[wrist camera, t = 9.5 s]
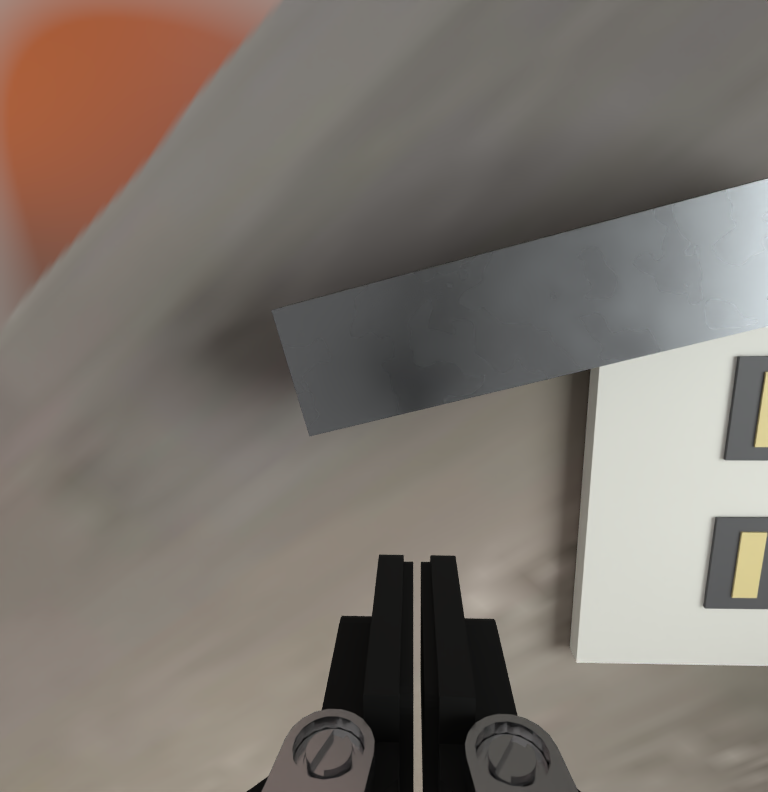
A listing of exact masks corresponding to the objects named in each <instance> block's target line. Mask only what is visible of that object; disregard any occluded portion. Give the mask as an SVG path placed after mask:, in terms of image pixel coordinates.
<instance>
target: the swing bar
mask: <svg viewBox="0 0 768 792" xmlns="http://www.w3.org/2000/svg"><path fill="white" fill-rule="evenodd" d="M271 311H272V314H273V317H274V321H275V324H276V327H277V330H278V334H279V337H280V340H281V344H282V347H283V350H284V354H285V357H286V360H287V364H288V367H289V370H290V373H291V377H292V380H293V383H294V387H295V390H296V393H297V397H298V400H299V403H300V407H301V410H302V413H303V416H304V420H305V423H306V426H307V430H308V433H309V436H313V435H317V434H321V433H325V432H330V431H334V430H338V429H342V428H346V427H350V426H355V425H359V424H363V423H367V422H371V421H375V420H380V419H384V418H388V417H392V416H396V415H400V414H405V413H409V412H413V411H417V410H421V409H425V408H430V407H434V406H438V405H442V404H446V403H450V402H455V401H459V400H463V399H467V398H471V397H475V396H480V395H484V394H488V393H492V392H496V391H500V390H505V389H509V388H513V387H517V386H521V385H526V384H530V383H534V382H538V381H542V380H546V379H551V378H555V377H559V376H563V375H567V374H571V373H576V372H580V371H584V370H588V369H592V368H596V367H601V366H605V365H609V364H613V363H617V362H621V361H626V360H630V359H634V358H638V357H642V356H646V355H651V354H655V353H659V352H663V351H667V350H671V349H676V348H680V347H684V346H688V345H692V344H697V343H701V342H705V341H709V340H713V339H717V338H722V337H726V336H730V335H734V334H738V333H742V332H747V331H751V330H755V329H759V328H763V327H767V326H768V178H765V179H761V180H757V181H754V182H750V183H746V184H742V185H739V186H735V187H731V188H727V189H724V190H720V191H716V192H712V193H708V194H705V195H701V196H697V197H693V198H690V199H686V200H682V201H678V202H675V203H671V204H667V205H663V206H659V207H656V208H652V209H648V210H644V211H641V212H637V213H633V214H629V215H626V216H622V217H618V218H614V219H611V220H607V221H603V222H599V223H595V224H592V225H588V226H584V227H580V228H577V229H573V230H569V231H565V232H562V233H558V234H554V235H550V236H547V237H543V238H539V239H535V240H531V241H528V242H524V243H520V244H516V245H513V246H509V247H505V248H501V249H498V250H494V251H490V252H486V253H482V254H479V255H475V256H471V257H467V258H464V259H460V260H456V261H452V262H449V263H445V264H441V265H437V266H434V267H430V268H426V269H422V270H418V271H415V272H411V273H407V274H403V275H400V276H396V277H392V278H388V279H385V280H381V281H377V282H373V283H369V284H366V285H362V286H358V287H354V288H351V289H347V290H343V291H339V292H336V293H332V294H328V295H324V296H321V297H317V298H313V299H309V300H305V301H302V302H298V303H294V304H291V305H287V306H284V307H281V308H278V309H274V310H271Z"/></svg>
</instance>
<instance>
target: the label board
mask: <svg viewBox="0 0 768 792" xmlns="http://www.w3.org/2000/svg"><path fill="white" fill-rule="evenodd" d="M570 649H571V651H572V654H573V656H574V658H575V661H576V663H629V664H687V665H745V666H768V326H767V327H763V328H759V329H755V330H751V331H747V332H742V333H738V334H734V335H730V336H726V337H722V338H717V339H713V340H709V341H705V342H701V343H697V344H692V345H688V346H684V347H680V348H676V349H671V350H667V351H663V352H659V353H655V354H651V355H646V356H642V357H638V358H634V359H630V360H626V361H621V362H617V363H613V364H609V365H605V366H601V367H596V368H592V369H591V370H590V383H589V397H588V410H587V423H586V437H585V450H584V464H583V477H582V490H581V504H580V517H579V530H578V544H577V557H576V570H575V584H574V597H573V610H572V624H571V637H570Z"/></svg>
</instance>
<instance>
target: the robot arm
mask: <svg viewBox="0 0 768 792" xmlns="http://www.w3.org/2000/svg"><path fill="white" fill-rule="evenodd" d="M421 720H422V772H423V792H581V791H579V790H578V789H577V788H576V785H575V783H574V781H573V779H572V777H571V775H570V773H569V771H568V768H567V766H566V764H565V762H564V760H563V758H562V756H561V754H560V751H559V749H558V747H557V746H556V744H555V743H554V741H553V740H552V738H551V737H550V735H549V734H548V733H547V732H545V731H544V730H543V729H542V728H541V727H540V726H539V725H537V724H535V723H533V722H531V721H530V720H528V719H526V718H523V717H519V716H517V712H516V708H515V703H514V699H513V695H512V690H511V686H510V682H509V677H508V673H507V669H506V664H505V660H504V656H503V651H502V647H501V643H500V638H499V634H498V630H497V625H496V622H495V620H494V619H468V618H464V612H463V605H462V598H461V591H460V584H459V578H458V571H457V564H456V557H455V556H435V555H431V556H430V562H421ZM247 792H413V562H404V556H403V555H379V560H378V569H377V577H376V586H375V595H374V603H373V612H372V617H371V616H342V617H341V619H340V623H339V628H338V633H337V638H336V643H335V648H334V653H333V658H332V663H331V667H330V672H329V677H328V682H327V687H326V692H325V697H324V702H323V707H322V710H321V711H317V712H314V713H312V714H310V715H308V716H306V717H304V718H302V719H301V720H300V721H299V722H298V723H297V724H295V725H294V726H293V727H292V729H291V730H290V732H289V733H288V735H287V736H286V738H285V740H284V742H283V745H282V747H281V749H280V751H279V754H278V756H277V758H276V760H275V763H274V765H273V767H272V769H271V772H270V774H269V776H268V777H267V778H265V779H264V780H262V781H261V782H260V783H258V784H257V785H255V786H254V787H253V788H251V789H250V790H248V791H247Z"/></svg>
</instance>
